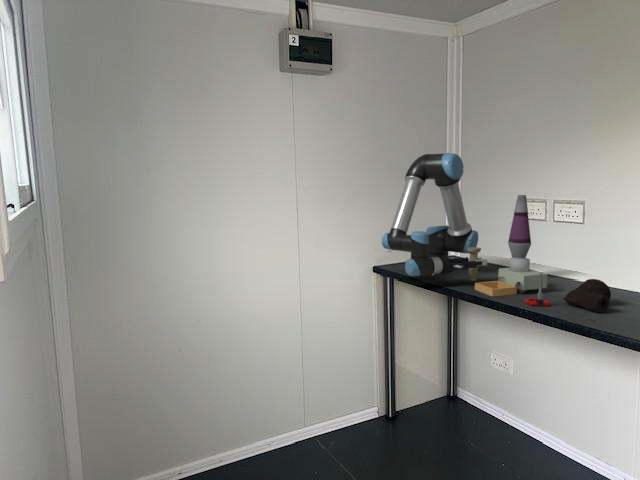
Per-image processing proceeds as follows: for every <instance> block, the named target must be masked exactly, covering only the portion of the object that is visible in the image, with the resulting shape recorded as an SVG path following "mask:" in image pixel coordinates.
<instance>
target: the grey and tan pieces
mask: <svg viewBox="0 0 640 480" xmlns="http://www.w3.org/2000/svg"><path fill="white" fill-rule="evenodd" d="M530 262H531V259H529V258H527V257H526V258H520V257H514V258H512V257H510V259H509V267H501V268H498V277H497V279H498V280H493V281H480V282H475V283H474V291H477V292H479V293H482V294H485V295H487V296H490V297H498V296H499V297H501V296H510V295H517V294H526V293H527V291H529V290H535V291H537V292H539V278H540V273H542V278H543V280H542V292H545V291H546V290H547V288H548V275H549V274H548V273H546V272H541V271H537V270H535V269H531V268H530V264H531V263H530Z"/></svg>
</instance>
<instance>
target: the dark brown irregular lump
mask: <svg viewBox="0 0 640 480" xmlns="http://www.w3.org/2000/svg"><path fill="white" fill-rule="evenodd" d="M611 295H612V292H611V290H610V287H609V286H608V285H607V284H606V283H605V282H604V281H602V280H600V279H597V278H589V279H586V280H585V281H584V282H583V283H581V284H580V285H579V286H578V287H576V288H575V289H572V290H570V291H569V292H568V293H567V294H566V295H565V296H564V297H563V301H564V302H566V303H567V304H569V305H571V306H574V305H575V307H582V308H584V309H586V311H587V310H588V311H591V312H593V311H594V313H604V312H606V311H607V309H608V308H609V305H610V299H611V297H612V296H611Z"/></svg>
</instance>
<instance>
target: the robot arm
mask: <svg viewBox="0 0 640 480" xmlns="http://www.w3.org/2000/svg"><path fill="white" fill-rule="evenodd" d="M464 168H465V167H464V162H463V160H462V158H461V156H460V155H458V154H456V153H453V152H452V153H450V152H446V153H426V154H422V155H420V156H418V157H417V158H416V159H415V160H413V162H412V163H411V164H410V166H409V168H408V170H407V171H406V172H405V177H404V182H405V184H404V186H403V190H402V193H401V197H400V198H399V201H398V202H399V203H398V206H397V209H396V211H395V215H394V218H393V222H392V225H391V228H390V231H389V232H386V233H384V234H383V235H382V237H381V238H382V239H381V245H382V247H383V248H384V249H385V250H386V249H387V250H390V251H399V252H406V253H410V258H409V259H406V261H405V264H404V269H405V272H406V274H407V275H408V276H409V277H419V276H429V275H431V276H435V275H438V274H447V273H449V272H451V271H452V270H457V269H458V270H466V269H469V268H476V267H477V266H478V267H482V266H488V259H487V258H485V259H483V258H482V257H478V260H474V261H470V258H469V257H468V256H466V257H460V258H459V257H457V258H456V257H455V258H450V257H449V252H450V253H460V254H470V253H469V252H468V251H467V248H471V247H477V246H478V243H479V232H478V231H477V230H473V228H472V225H471V223H469V222H468V220H467V216H466V212H465V208H464V207H465V206H464V203H463V198H462V193H461V190H460V184H459V182H460V181H461V178H462V176H463V175H464ZM427 180H433V181H434V184H435V187H437V188H439V190H440V194H441V199H442V202H443V207H444V210H445V214H446V217H447V223H448V225H435V226H428V227H427V228H426V231H424V230H416V231H411V233H410V234H407V233H408V230H409V227H410V224H411V221H412V217H413V214H414V211H415V208H416V205H417V202H418V198H419V195H420V192H421V190H422V187H423V186H425V184H426V181H427Z"/></svg>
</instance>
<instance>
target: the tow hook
mask: <svg viewBox="0 0 640 480" xmlns="http://www.w3.org/2000/svg"><path fill="white" fill-rule="evenodd" d="M542 273H543V272H542ZM542 273H540V278H539V291H537V297H535V298H534V297H530V298H525V299H524V303H525V304H529V305H530V306H535V307H536V306H537V307H549V306H550V302H549V301H548V300H546V299H543V291H542V280H543V278H542Z"/></svg>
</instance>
